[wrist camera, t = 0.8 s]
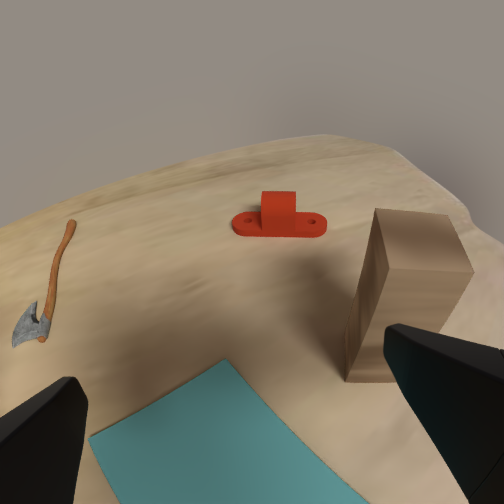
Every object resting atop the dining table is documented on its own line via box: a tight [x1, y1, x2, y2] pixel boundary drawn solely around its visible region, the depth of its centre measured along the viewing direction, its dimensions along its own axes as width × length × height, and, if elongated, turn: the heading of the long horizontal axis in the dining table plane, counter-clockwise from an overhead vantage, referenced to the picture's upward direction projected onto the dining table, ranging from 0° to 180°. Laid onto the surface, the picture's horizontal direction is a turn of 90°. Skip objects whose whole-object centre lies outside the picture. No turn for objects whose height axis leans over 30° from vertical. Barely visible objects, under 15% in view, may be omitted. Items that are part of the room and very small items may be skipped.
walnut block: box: [345, 208, 474, 383], centre depth 19 cm, size 5×5×13 cm
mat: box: [88, 358, 369, 504], centre depth 16 cm, size 18×14×1 cm
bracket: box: [232, 191, 327, 238], centre depth 36 cm, size 12×4×5 cm, turn 84°
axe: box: [12, 219, 76, 348], centre depth 34 cm, size 22×6×2 cm, turn 15°
